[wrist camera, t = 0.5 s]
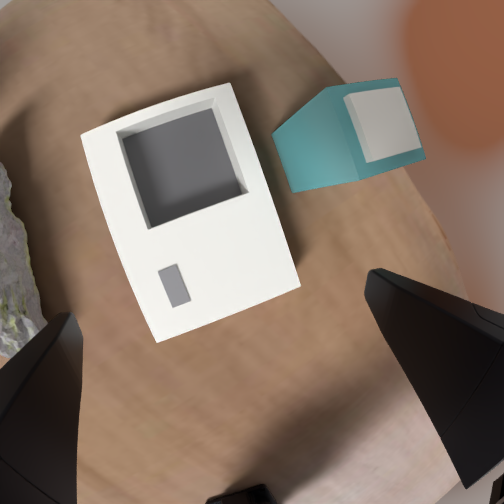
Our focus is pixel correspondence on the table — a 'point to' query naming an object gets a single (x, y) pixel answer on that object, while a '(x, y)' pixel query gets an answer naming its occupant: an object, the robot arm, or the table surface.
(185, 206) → the socket plate
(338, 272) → the table surface
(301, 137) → the plug
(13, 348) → the rock
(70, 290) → the table surface
